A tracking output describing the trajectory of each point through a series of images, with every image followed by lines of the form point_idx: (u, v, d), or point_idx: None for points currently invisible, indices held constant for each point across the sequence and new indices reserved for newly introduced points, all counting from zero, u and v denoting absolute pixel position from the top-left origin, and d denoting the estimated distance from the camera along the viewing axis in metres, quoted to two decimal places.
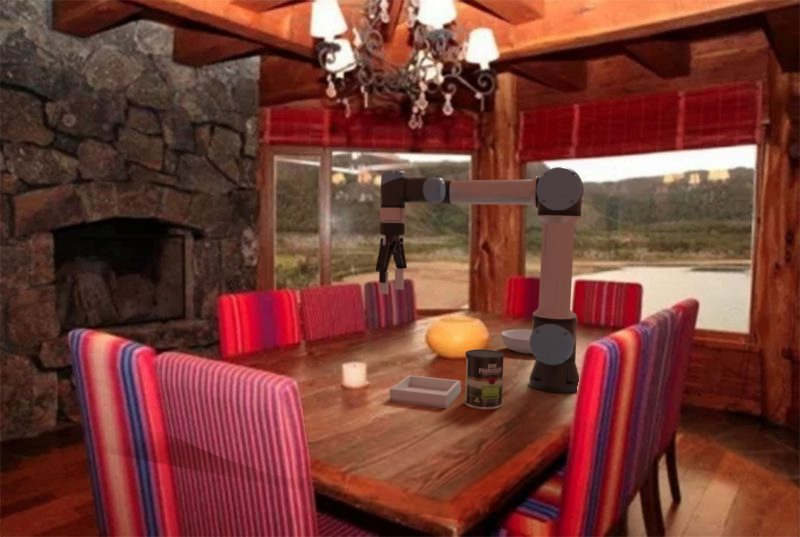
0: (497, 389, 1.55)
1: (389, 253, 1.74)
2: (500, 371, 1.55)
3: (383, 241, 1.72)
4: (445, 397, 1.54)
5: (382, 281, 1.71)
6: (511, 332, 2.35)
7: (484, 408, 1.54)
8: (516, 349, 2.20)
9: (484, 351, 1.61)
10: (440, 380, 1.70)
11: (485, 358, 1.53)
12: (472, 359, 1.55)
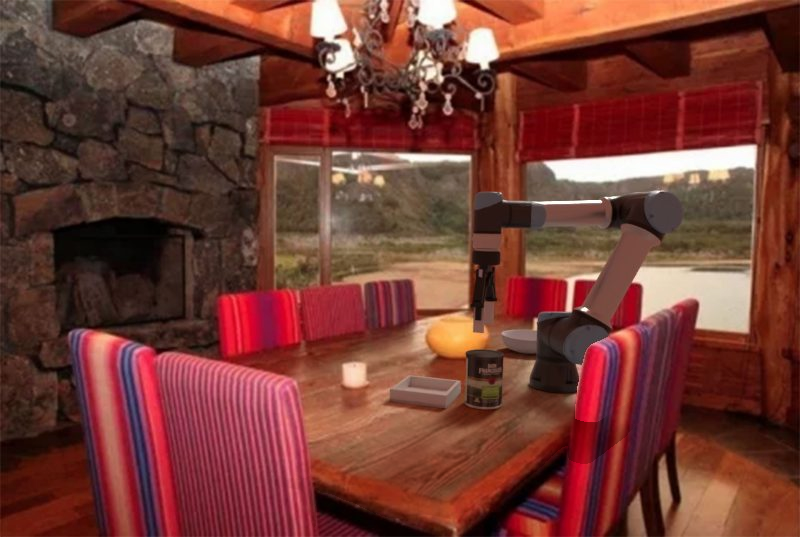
0: (497, 389, 1.55)
1: (485, 286, 1.52)
2: (500, 371, 1.55)
3: (479, 273, 1.50)
4: (445, 397, 1.54)
5: (478, 319, 1.50)
6: (511, 332, 2.35)
7: (484, 408, 1.54)
8: (516, 349, 2.20)
9: (484, 351, 1.61)
10: (440, 380, 1.70)
11: (485, 358, 1.53)
12: (472, 359, 1.55)
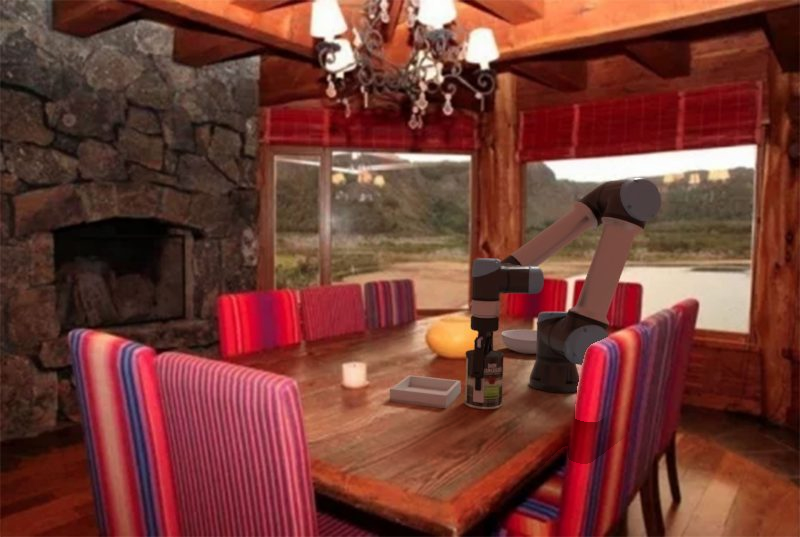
0: (497, 389, 1.55)
1: (484, 354, 1.54)
2: (500, 371, 1.55)
3: (478, 343, 1.52)
4: (445, 397, 1.54)
5: (478, 389, 1.52)
6: (511, 332, 2.35)
7: (484, 408, 1.54)
8: (516, 349, 2.20)
9: None
10: (440, 380, 1.70)
11: (485, 358, 1.53)
12: (472, 359, 1.55)
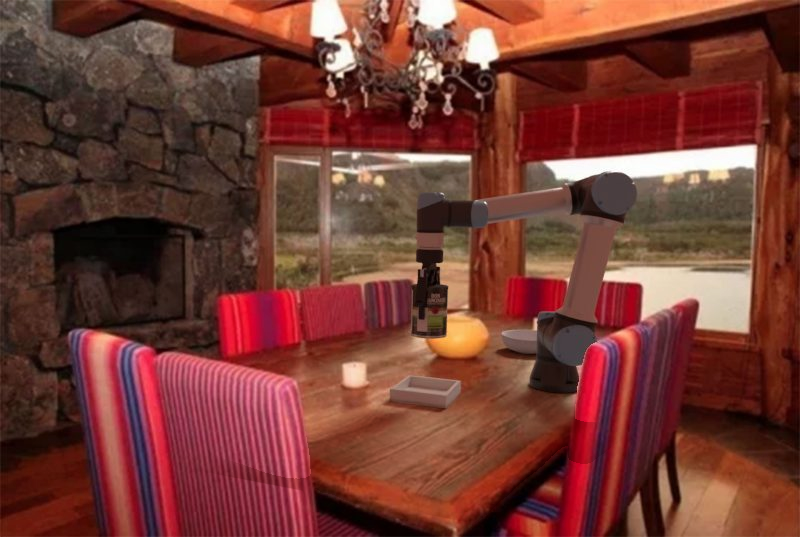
0: (441, 319, 1.59)
1: (427, 285, 1.58)
2: (444, 301, 1.59)
3: (421, 273, 1.56)
4: (445, 397, 1.54)
5: (421, 318, 1.56)
6: (511, 332, 2.35)
7: (428, 337, 1.58)
8: (516, 349, 2.20)
9: None
10: (440, 380, 1.70)
11: (428, 288, 1.57)
12: None
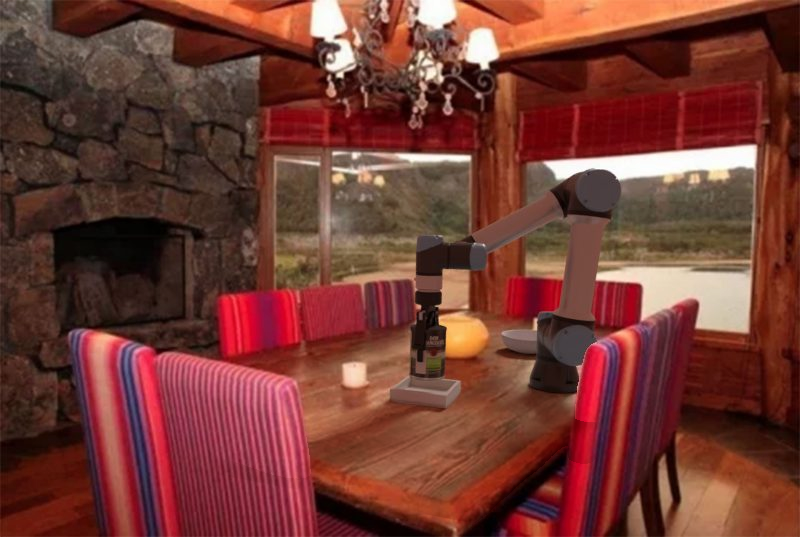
0: (439, 361, 1.60)
1: (426, 327, 1.59)
2: (442, 343, 1.60)
3: (419, 316, 1.56)
4: (445, 397, 1.54)
5: (420, 360, 1.57)
6: (511, 332, 2.35)
7: (426, 379, 1.59)
8: (516, 349, 2.20)
9: None
10: (440, 380, 1.70)
11: (427, 330, 1.58)
12: None
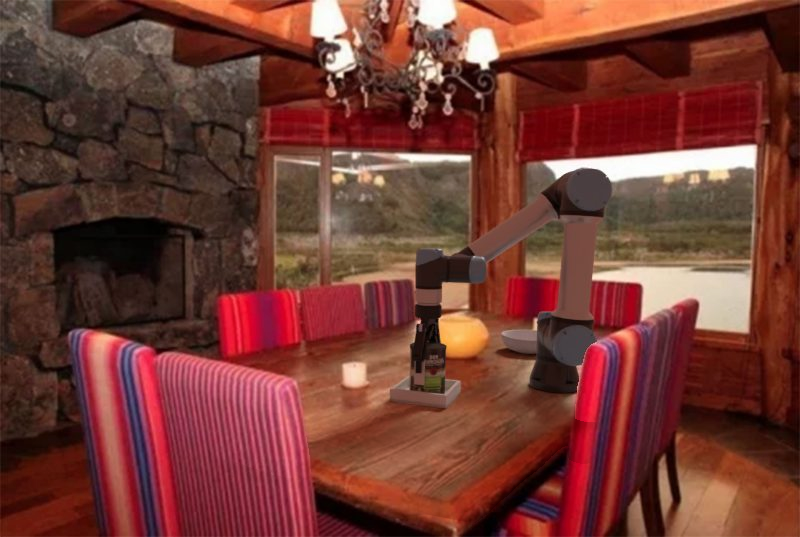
0: (439, 380, 1.60)
1: (425, 339, 1.59)
2: (442, 362, 1.60)
3: (419, 327, 1.57)
4: (445, 397, 1.54)
5: (418, 372, 1.56)
6: (511, 332, 2.35)
7: None
8: (516, 349, 2.20)
9: (428, 343, 1.66)
10: None
11: (427, 349, 1.58)
12: None
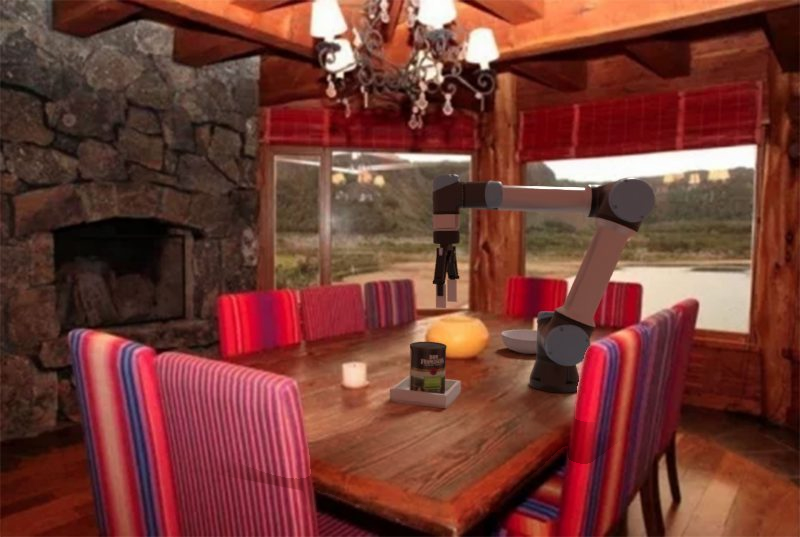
0: (439, 380, 1.60)
1: (445, 264, 1.61)
2: (442, 362, 1.60)
3: (439, 251, 1.59)
4: (445, 397, 1.54)
5: (440, 294, 1.58)
6: (511, 332, 2.35)
7: None
8: (516, 349, 2.20)
9: (428, 343, 1.66)
10: None
11: (427, 349, 1.58)
12: (414, 350, 1.60)
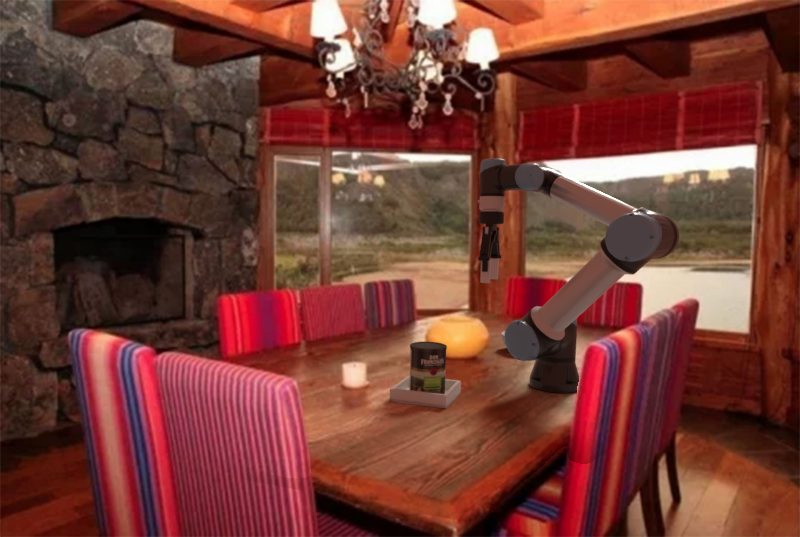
0: (439, 380, 1.60)
1: (490, 242, 1.72)
2: (442, 362, 1.60)
3: (485, 230, 1.70)
4: (445, 397, 1.54)
5: (485, 270, 1.69)
6: None
7: None
8: None
9: (429, 343, 1.66)
10: None
11: (427, 350, 1.58)
12: (414, 350, 1.60)
